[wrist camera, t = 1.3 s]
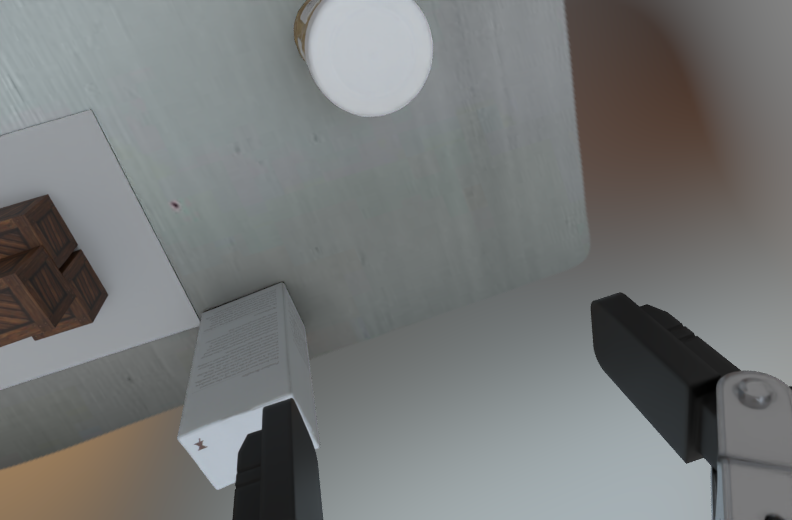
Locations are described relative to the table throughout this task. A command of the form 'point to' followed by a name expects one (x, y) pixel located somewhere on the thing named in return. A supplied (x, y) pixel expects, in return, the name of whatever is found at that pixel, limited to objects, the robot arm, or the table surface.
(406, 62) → the sprinkles bottle
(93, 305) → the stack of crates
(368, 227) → the table surface
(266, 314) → the cosmetic box
